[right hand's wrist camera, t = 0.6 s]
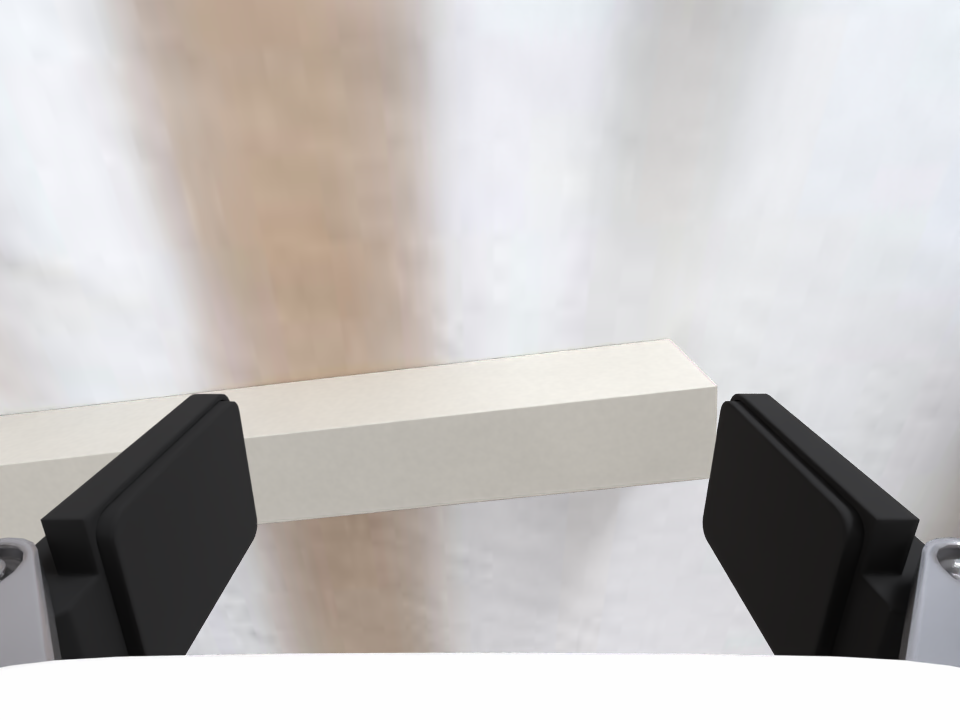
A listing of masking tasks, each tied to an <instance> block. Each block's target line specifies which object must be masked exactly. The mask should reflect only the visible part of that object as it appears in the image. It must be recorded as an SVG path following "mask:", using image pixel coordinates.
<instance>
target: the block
mask: <svg viewBox="0 0 960 720" xmlns="http://www.w3.org/2000/svg"><path fill="white" fill-rule="evenodd" d="M194 394H225V395H226V396H227V397H228V398H229V400H230V401H235V402H236V403H237V405H238V407H239V411H240V417H241V423H242V429H243V435H244V441H245V448H246V454H247V460H248V466H249V472H250V478H251V484H252V491H253V497H254V503H255V509H256V515H257V524H267V523H277V522H287V521H296V520H306V519H316V518H326V517H336V516H345V515H355V514H365V513H375V512H385V511H395V510H404V509H414V508H424V507H434V506H444V505H453V504H463V503H473V502H483V501H493V500H503V499H512V498H522V497H532V496H542V495H552V494H561V493H571V492H581V491H591V490H601V489H611V488H620V487H630V486H640V485H650V484H660V483H669V482H679V481H689V480H699V479H709V478H710V472H711V466H712V460H713V454H714V448H715V441H716V425H717V385H716V384H715V383H714V382H713V381H712V380H711V379H710V378H709V377H708V376H707V375H706V374H705V373H704V372H703V371H702V370H701V369H700V368H699V367H698V366H697V365H696V364H695V363H694V362H693V361H692V360H691V359H690V358H689V357H688V356H687V355H686V354H685V353H684V352H683V351H682V350H681V349H680V348H679V347H678V346H677V345H676V344H675V343H673V342H672V341H671V340H670V339H662V340H654V341H645V342H636V343H628V344H619V345H610V346H601V347H593V348H584V349H575V350H567V351H558V352H549V353H541V354H532V355H523V356H515V357H506V358H497V359H489V360H480V361H471V362H463V363H454V364H445V365H437V366H428V367H419V368H411V369H402V370H393V371H385V372H376V373H367V374H359V375H350V376H341V377H333V378H324V379H315V380H307V381H298V382H289V383H281V384H272V385H263V386H255V387H246V388H237V389H229V390H220V391H211V392H203V393H194ZM191 395H193V394H185V395H177V396H168V397H159V398H151V399H142V400H133V401H124V402H116V403H107V404H98V405H90V406H81V407H72V408H64V409H55V410H46V411H38V412H29V413H20V414H12V415H3V416H0V539H1V538H24V539H26V540H29V541H31V542H33V543H34V544H37V543H38V542H39V541H40V540H41V539H42V538H43V537H45V533H44V529H43V526H42V523H41V519H42V518H43V517H44V516H45V515H47V514H48V513H49V512H50V511H51V510H53V509H54V508H55V507H56V506H58V505H59V504H60V503H61V502H62V501H64V500H65V499H66V498H67V497H68V496H70V495H71V494H72V493H73V492H74V491H76V490H77V489H78V488H79V487H80V486H82V485H83V484H84V483H85V482H87V481H88V480H89V479H90V478H91V477H93V476H94V475H95V474H96V473H97V472H99V471H100V470H101V469H102V468H103V467H105V466H106V465H107V464H108V463H109V462H111V461H112V460H113V459H114V458H116V457H117V456H118V455H119V454H120V453H122V452H123V451H124V450H125V449H126V448H128V447H129V446H130V445H131V444H132V443H134V442H135V441H136V440H137V439H138V438H140V437H141V436H142V435H143V434H145V433H146V432H147V431H148V430H149V429H151V428H152V427H153V426H154V425H155V424H157V423H158V422H159V421H160V420H161V419H163V418H164V417H165V416H166V415H167V414H169V413H170V412H171V411H172V410H174V409H175V408H176V407H177V406H178V405H180V404H181V403H182V402H183V401H184V400H186V399H187V398H188V397H189V396H191Z"/></svg>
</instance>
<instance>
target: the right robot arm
mask: <svg viewBox="0 0 960 720" xmlns="http://www.w3.org/2000/svg"><path fill="white" fill-rule="evenodd" d="M41 523H42V526H43V529H44V533H45V537H43V538H42V539H41V540H40V541H39V542H38V543H37V544H34V543H33V542H31V541H29V540H26V539H24V538H1V539H0V720H960V539H959V538H936V539H934V540H931V541H929V542H927V543H926V544H923V543H922V542H921V541H920V540H919V539H918V538H917V537H915V533H916V529H917V526H918V523H919V519H918V518H917V517H916V516H915V515H913V514H912V513H911V512H910V511H909V510H907V509H906V508H905V507H904V506H902V505H901V504H900V503H899V502H898V501H896V500H895V499H894V498H893V497H892V496H890V495H889V494H888V493H887V492H886V491H884V490H883V489H882V488H881V487H880V486H878V485H877V484H876V483H875V482H873V481H872V480H871V479H870V478H869V477H867V476H866V475H865V474H864V473H863V472H861V471H860V470H859V469H858V468H857V467H855V466H854V465H853V464H852V463H851V462H849V461H848V460H847V459H846V458H844V457H843V456H842V455H841V454H840V453H838V452H837V451H836V450H835V449H834V448H832V447H831V446H830V445H829V444H828V443H826V442H825V441H824V440H823V439H822V438H820V437H819V436H818V435H817V434H815V433H814V432H813V431H812V430H811V429H809V428H808V427H807V426H806V425H805V424H803V423H802V422H801V421H800V420H799V419H797V418H796V417H795V416H794V415H793V414H791V413H790V412H789V411H788V410H786V409H785V408H784V407H783V406H782V405H780V404H779V403H778V402H777V401H776V400H774V399H773V398H772V397H771V396H769V395H767V394H735V395H734V396H733V397H732V398H731V400H730V401H725V402H724V403H723V405H722V407H721V411H720V417H719V423H718V429H717V435H716V441H715V448H714V454H713V460H712V466H711V472H710V478H709V484H708V490H707V497H706V503H705V509H704V515H703V530H704V535H705V537H706V540H707V541H708V543H709V545H710V546H711V548H712V550H713V551H714V553H715V555H716V557H717V558H718V560H719V562H720V563H721V565H722V567H723V568H724V570H725V572H726V573H727V575H728V577H729V579H730V580H731V582H732V584H733V585H734V587H735V589H736V590H737V592H738V594H739V596H740V597H741V599H742V601H743V602H744V604H745V606H746V607H747V609H748V611H749V612H750V614H751V616H752V618H753V619H754V621H755V623H756V624H757V626H758V628H759V629H760V631H761V633H762V634H763V636H764V638H765V640H766V641H767V643H768V645H769V646H770V648H771V650H772V651H773V653H774V655H729V654H654V653H306V654H231V655H186V653H187V651H188V650H189V648H190V646H191V645H192V643H193V641H194V640H195V638H196V636H197V634H198V633H199V631H200V629H201V628H202V626H203V624H204V623H205V621H206V619H207V618H208V616H209V614H210V612H211V611H212V609H213V607H214V606H215V604H216V602H217V601H218V599H219V597H220V596H221V594H222V592H223V590H224V589H225V587H226V585H227V584H228V582H229V580H230V579H231V577H232V575H233V573H234V572H235V570H236V568H237V567H238V565H239V563H240V562H241V560H242V558H243V557H244V555H245V553H246V551H247V550H248V548H249V546H250V545H251V543H252V541H253V539H254V537H255V534H256V530H257V515H256V509H255V503H254V497H253V491H252V484H251V478H250V472H249V466H248V460H247V454H246V448H245V441H244V435H243V429H242V423H241V417H240V411H239V407H238V405H237V403H236V402H235V401H230V400H229V398H228V397H227V396H226V395H225V394H193V395H191V396H189V397H188V398H187V399H186V400H184V401H183V402H182V403H181V404H180V405H178V406H177V407H176V408H175V409H174V410H172V411H171V412H170V413H169V414H167V415H166V416H165V417H164V418H163V419H161V420H160V421H159V422H158V423H157V424H155V425H154V426H153V427H152V428H151V429H149V430H148V431H147V432H146V433H145V434H143V435H142V436H141V437H140V438H138V439H137V440H136V441H135V442H134V443H132V444H131V445H130V446H129V447H128V448H126V449H125V450H124V451H123V452H122V453H120V454H119V455H118V456H117V457H116V458H114V459H113V460H112V461H111V462H109V463H108V464H107V465H106V466H105V467H103V468H102V469H101V470H100V471H99V472H97V473H96V474H95V475H94V476H93V477H91V478H90V479H89V480H88V481H87V482H85V483H84V484H83V485H82V486H80V487H79V488H78V489H77V490H76V491H74V492H73V493H72V494H71V495H70V496H68V497H67V498H66V499H65V500H64V501H62V502H61V503H60V504H59V505H58V506H56V507H55V508H54V509H53V510H51V511H50V512H49V513H48V514H47V515H45V516H44V517H43V518H42V519H41Z"/></svg>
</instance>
